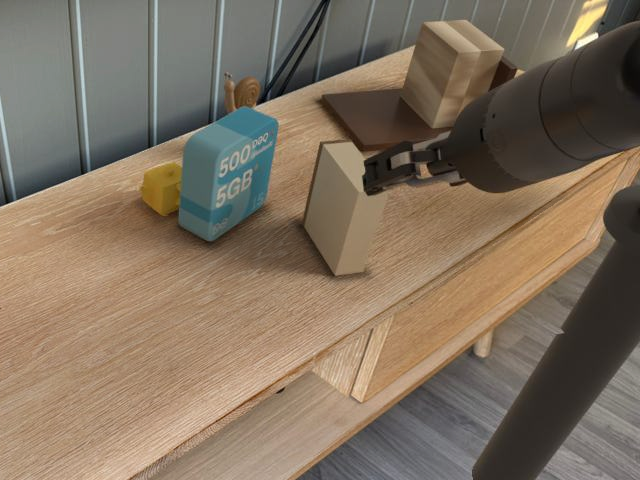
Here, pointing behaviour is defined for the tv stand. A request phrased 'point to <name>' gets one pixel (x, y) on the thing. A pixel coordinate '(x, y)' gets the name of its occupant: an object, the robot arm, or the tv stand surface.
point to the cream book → (342, 208)
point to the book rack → (425, 88)
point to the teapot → (162, 188)
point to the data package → (226, 172)
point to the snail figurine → (241, 93)
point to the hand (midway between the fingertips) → (409, 180)
